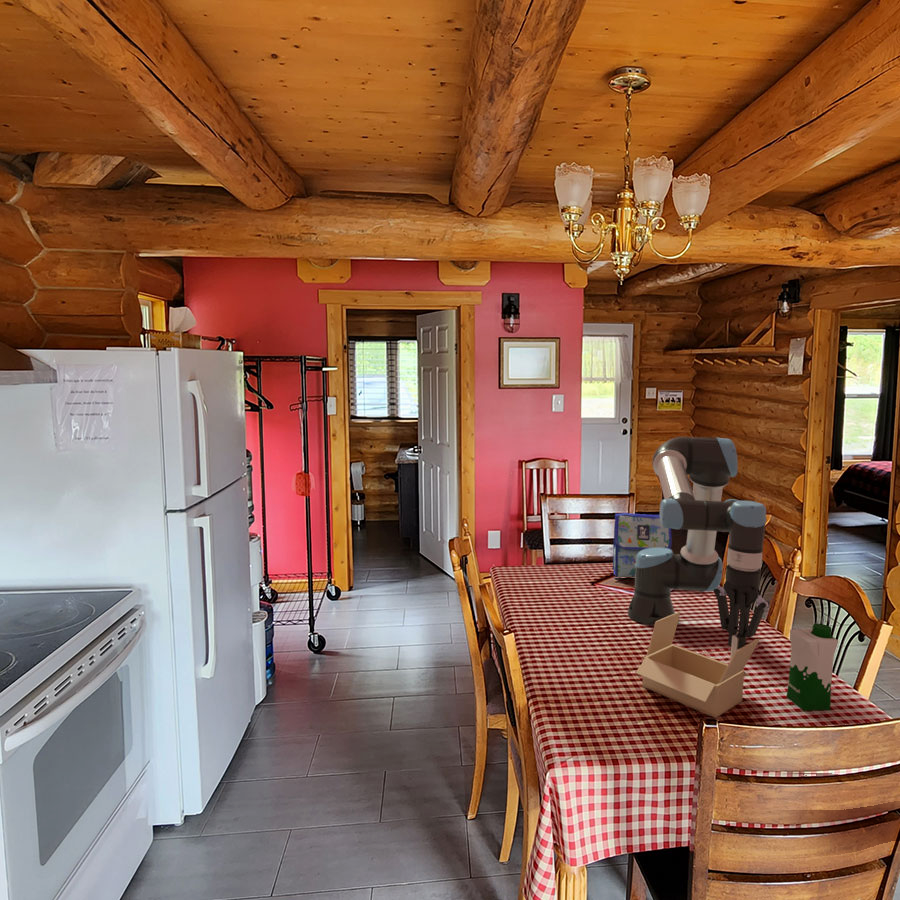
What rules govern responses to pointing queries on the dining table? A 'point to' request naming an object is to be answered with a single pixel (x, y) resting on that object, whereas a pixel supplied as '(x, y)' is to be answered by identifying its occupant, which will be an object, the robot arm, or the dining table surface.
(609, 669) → the dining table surface
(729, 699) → the carton
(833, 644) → the milk carton
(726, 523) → the robot arm
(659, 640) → the flap
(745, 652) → the flap
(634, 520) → the lunch bag
